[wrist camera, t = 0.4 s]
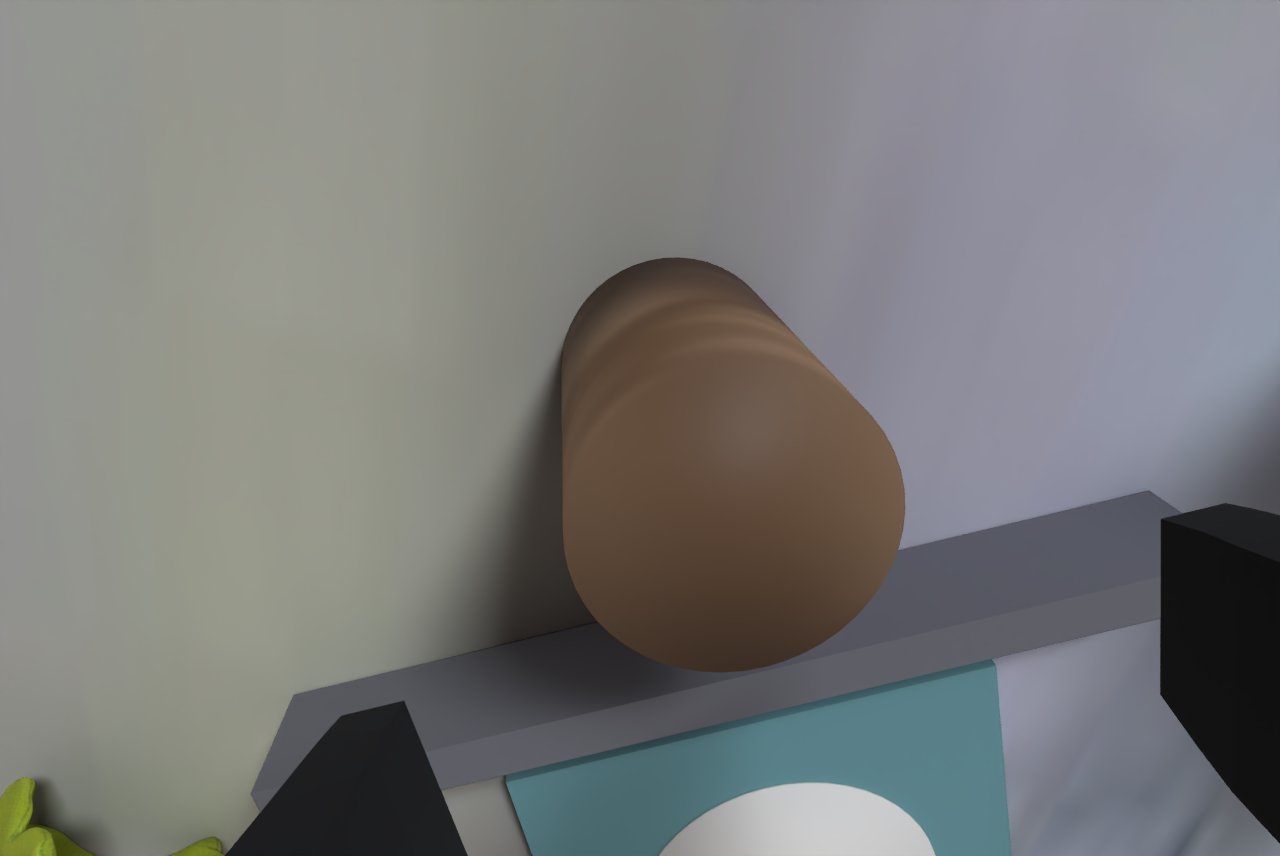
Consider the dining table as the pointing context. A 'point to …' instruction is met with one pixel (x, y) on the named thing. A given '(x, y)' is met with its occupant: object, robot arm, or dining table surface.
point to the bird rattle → (21, 852)
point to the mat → (793, 781)
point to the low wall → (688, 700)
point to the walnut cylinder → (716, 474)
